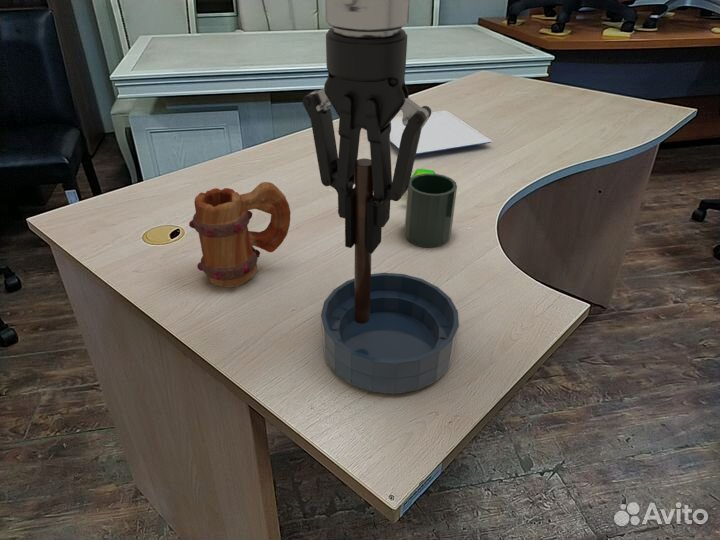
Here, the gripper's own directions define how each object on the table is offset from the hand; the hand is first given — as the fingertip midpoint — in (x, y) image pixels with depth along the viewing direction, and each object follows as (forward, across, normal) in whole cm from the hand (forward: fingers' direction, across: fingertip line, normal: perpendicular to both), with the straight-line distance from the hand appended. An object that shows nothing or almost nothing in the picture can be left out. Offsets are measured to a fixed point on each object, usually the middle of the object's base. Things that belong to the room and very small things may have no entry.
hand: (363, 243), depth 62 cm
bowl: (+16, +4, 0) cm, 16 cm away
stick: (+12, 0, 0) cm, 12 cm away
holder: (+16, 0, +29) cm, 33 cm away
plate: (+16, -14, +72) cm, 75 cm away
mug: (+16, -22, +6) cm, 28 cm away
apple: (+16, -5, +41) cm, 45 cm away
